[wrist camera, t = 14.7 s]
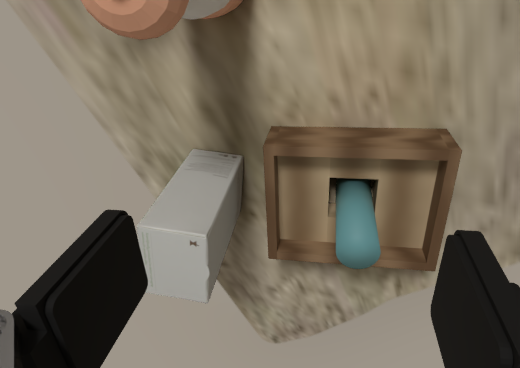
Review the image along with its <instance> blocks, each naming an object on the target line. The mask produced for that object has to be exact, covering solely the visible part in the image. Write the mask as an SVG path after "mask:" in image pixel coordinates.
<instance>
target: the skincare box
mask: <svg viewBox="0 0 520 368" xmlns="http://www.w3.org/2000/svg"><path fill="white" fill-rule="evenodd" d="M242 183H243V156H241V155H234V154H227V153H221V152H213V151H206V150H199V149H192V151H191V152H190V154H189V155H188V156H187V158H186V159H185V160H184V162H183V163H182V165H181V166H180V167H179V169H178V170H177V172H176V173H175V174H174V176H173V177H172V179H171V180H170V181H169V183H168V184H167V185H166V187H165V188H164V190H163V191H162V192H161V194H160V195H159V196H158V198H157V199H156V201H155V202H154V203H153V205H152V206H151V208H150V209H149V210H148V212H147V213H146V215H145V216H144V217H143V219H142V220H141V221H140V223H139V224H138V225H137V234H138V241H139V246H140V250H141V254H142V258H143V262H144V266H145V270H146V274H147V278H148V286H147V290H146V293H152V294H157V295H163V296H170V297H175V298H181V299H187V300H192V301H197V302H203V303H208V301H209V299H210V296H211V293H212V290H213V287H214V285H215V282H216V279H217V276H218V273H219V270H220V267H221V264H222V261H223V259H224V256H225V253H226V250H227V247H228V244H229V242H230V239H231V236H232V233H233V230H234V227H235V224H236V222H237V219H238V216H239V213H240V211H241V200H242Z"/></svg>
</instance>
